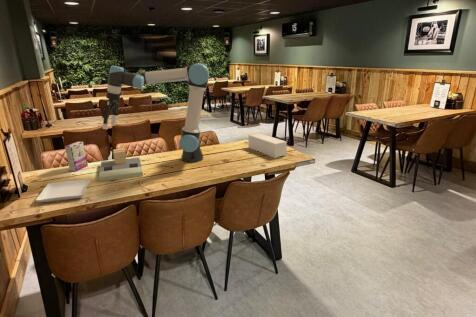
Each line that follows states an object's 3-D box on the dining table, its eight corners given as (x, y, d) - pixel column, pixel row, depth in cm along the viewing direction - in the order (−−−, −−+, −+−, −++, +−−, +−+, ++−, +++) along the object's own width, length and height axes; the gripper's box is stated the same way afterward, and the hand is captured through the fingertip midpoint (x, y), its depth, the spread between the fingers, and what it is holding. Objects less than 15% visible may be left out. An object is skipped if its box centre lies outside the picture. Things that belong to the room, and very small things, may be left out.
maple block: (115, 161, 197) (113, 149, 194) (126, 160, 199) (124, 148, 197) (114, 164, 190) (113, 152, 188) (126, 163, 193) (125, 151, 190)
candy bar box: (81, 165, 197) (77, 141, 192) (88, 165, 196) (83, 141, 191) (69, 171, 187) (64, 146, 182) (76, 171, 186) (71, 146, 181)
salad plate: (84, 200, 148) (83, 194, 147) (36, 206, 143) (34, 199, 141) (91, 184, 168) (90, 178, 166) (49, 188, 162) (47, 183, 161)
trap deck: (101, 165, 197) (101, 161, 196) (139, 160, 205) (139, 157, 204) (99, 181, 170) (98, 177, 169) (143, 175, 178) (142, 171, 178)
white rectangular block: (248, 148, 234) (248, 134, 231) (259, 146, 240) (259, 133, 236) (274, 158, 209) (275, 143, 205) (286, 156, 214) (286, 141, 211)
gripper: (114, 90, 189) (110, 122, 194) (98, 92, 165) (94, 129, 170) (126, 92, 189) (121, 125, 195) (112, 95, 165) (107, 132, 171)
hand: (109, 127), depth 182 cm, fingers open, 13 cm apart
